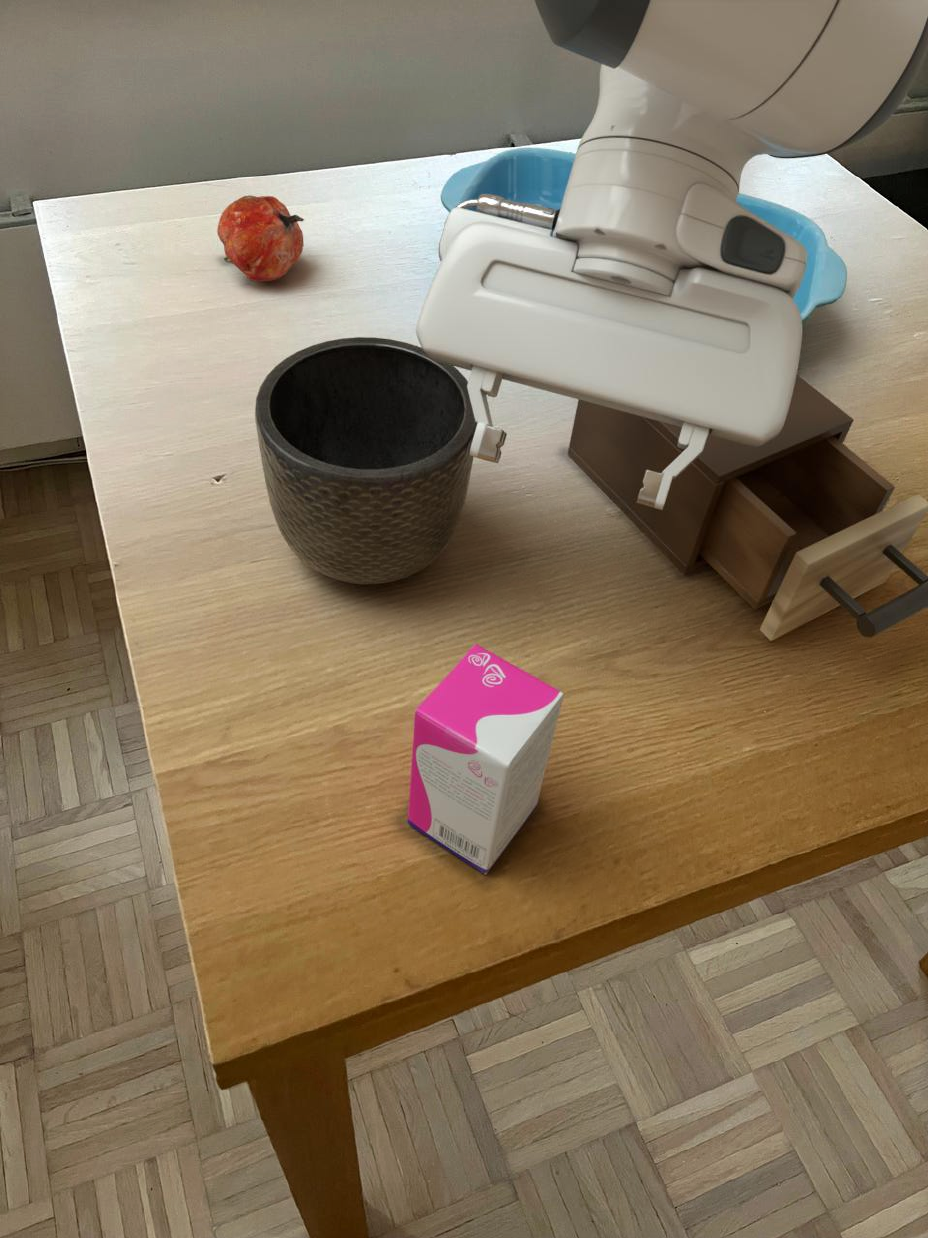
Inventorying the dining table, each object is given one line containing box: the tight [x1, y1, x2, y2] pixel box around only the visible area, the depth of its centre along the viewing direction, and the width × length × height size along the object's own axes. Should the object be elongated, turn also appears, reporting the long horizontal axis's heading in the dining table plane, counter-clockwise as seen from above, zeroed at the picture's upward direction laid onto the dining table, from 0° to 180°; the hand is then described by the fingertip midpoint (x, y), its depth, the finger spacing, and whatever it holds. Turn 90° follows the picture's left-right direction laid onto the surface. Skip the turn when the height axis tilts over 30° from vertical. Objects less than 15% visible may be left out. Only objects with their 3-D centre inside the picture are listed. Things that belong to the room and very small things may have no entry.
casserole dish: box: [440, 147, 848, 326], centre depth 94 cm, size 37×22×7 cm, turn 72°
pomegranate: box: [216, 194, 306, 282], centre depth 92 cm, size 7×7×10 cm
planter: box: [254, 336, 477, 586], centre depth 68 cm, size 14×14×13 cm
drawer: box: [699, 436, 928, 642], centre depth 71 cm, size 18×11×8 cm, turn 32°
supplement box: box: [407, 643, 565, 876], centre depth 56 cm, size 6×6×12 cm
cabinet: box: [567, 373, 854, 575], centre depth 76 cm, size 15×13×10 cm
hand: (565, 482), depth 56 cm, fingers open, 8 cm apart
